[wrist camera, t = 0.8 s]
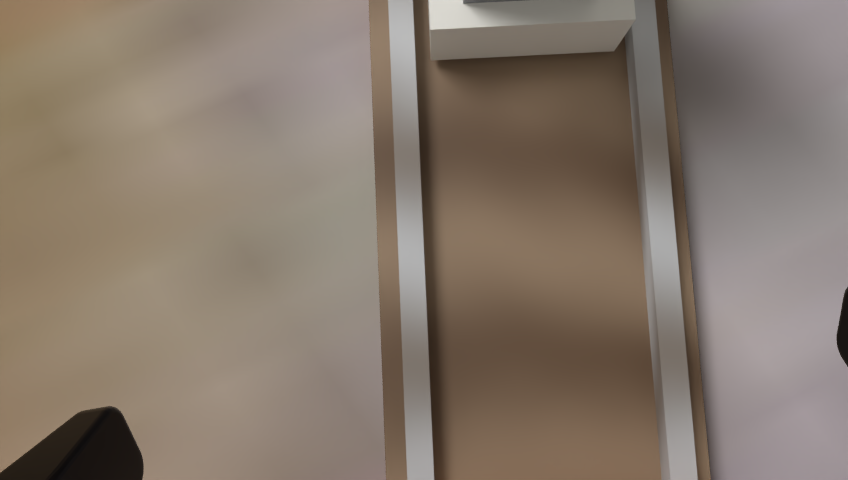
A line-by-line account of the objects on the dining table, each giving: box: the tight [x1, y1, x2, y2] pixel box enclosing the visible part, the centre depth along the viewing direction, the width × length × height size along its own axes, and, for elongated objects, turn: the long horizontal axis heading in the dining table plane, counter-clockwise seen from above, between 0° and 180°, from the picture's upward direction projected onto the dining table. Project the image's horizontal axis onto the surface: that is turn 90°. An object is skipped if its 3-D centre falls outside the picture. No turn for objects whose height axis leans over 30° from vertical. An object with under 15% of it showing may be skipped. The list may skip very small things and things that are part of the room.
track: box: [369, 0, 711, 480], centre depth 20 cm, size 24×10×4 cm, turn 3°
